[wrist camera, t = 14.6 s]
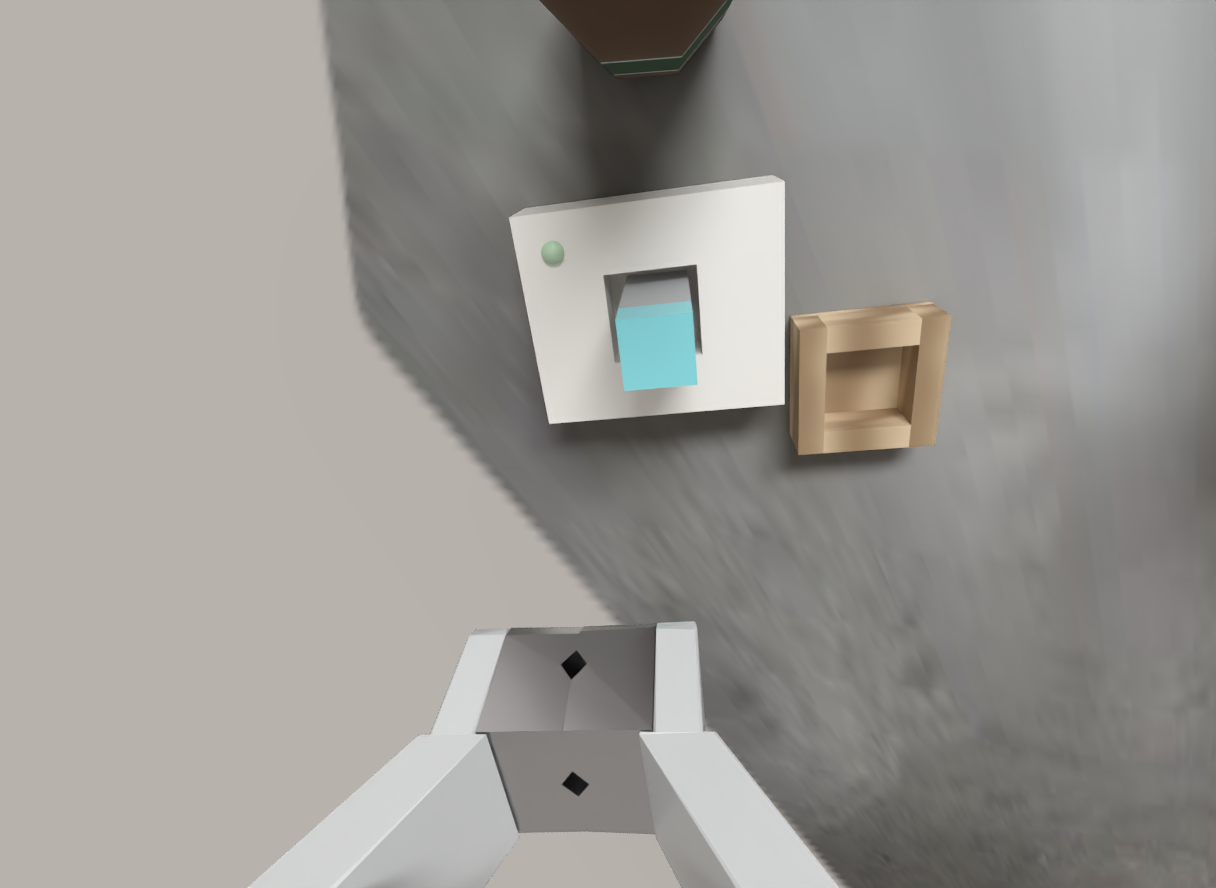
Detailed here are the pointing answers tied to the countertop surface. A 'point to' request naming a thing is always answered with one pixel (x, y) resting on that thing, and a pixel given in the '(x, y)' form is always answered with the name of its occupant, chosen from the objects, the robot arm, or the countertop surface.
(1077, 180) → the countertop surface
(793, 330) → the square wooden tray
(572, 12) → the beer bottle
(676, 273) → the plug
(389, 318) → the countertop surface
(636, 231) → the port
